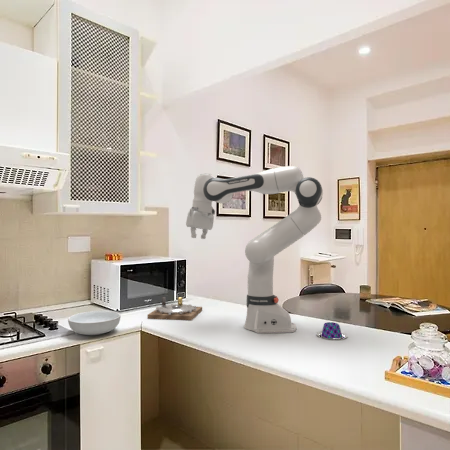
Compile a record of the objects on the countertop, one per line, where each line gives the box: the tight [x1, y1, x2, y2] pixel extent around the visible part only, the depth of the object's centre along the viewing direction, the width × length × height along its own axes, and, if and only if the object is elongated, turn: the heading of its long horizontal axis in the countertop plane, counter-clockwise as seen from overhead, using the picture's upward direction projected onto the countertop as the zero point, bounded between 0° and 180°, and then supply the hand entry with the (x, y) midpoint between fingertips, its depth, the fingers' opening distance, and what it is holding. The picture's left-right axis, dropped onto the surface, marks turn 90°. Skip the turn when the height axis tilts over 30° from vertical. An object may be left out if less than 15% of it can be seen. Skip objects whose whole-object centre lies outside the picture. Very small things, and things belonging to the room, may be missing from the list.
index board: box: [147, 296, 203, 321], centre depth 187 cm, size 22×22×7 cm
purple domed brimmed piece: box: [315, 321, 348, 340], centre depth 147 cm, size 12×12×5 cm
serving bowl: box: [67, 310, 121, 336], centre depth 154 cm, size 21×21×7 cm
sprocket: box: [155, 296, 197, 315], centre depth 187 cm, size 21×21×5 cm
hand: (198, 238), depth 170 cm, fingers open, 8 cm apart
